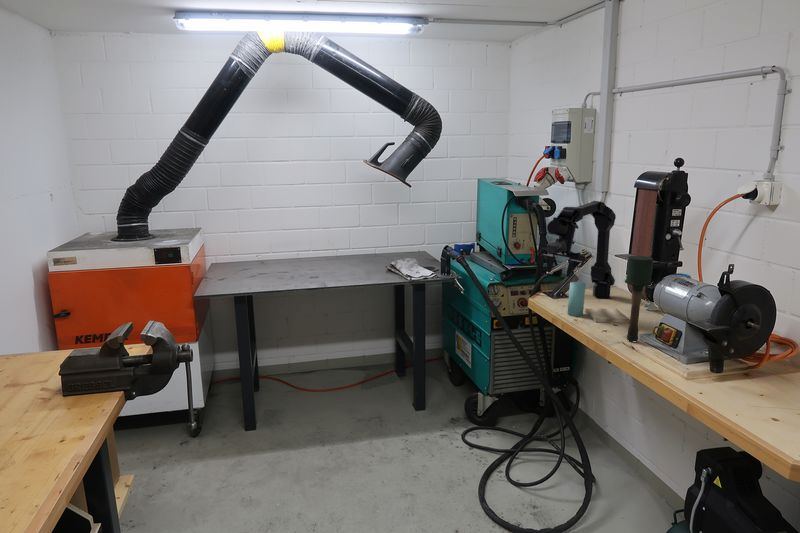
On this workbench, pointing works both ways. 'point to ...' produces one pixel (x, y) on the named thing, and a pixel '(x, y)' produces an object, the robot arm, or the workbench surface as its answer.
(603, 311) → the board
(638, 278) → the stick grenade
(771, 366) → the workbench surface
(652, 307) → the pneumatic valve
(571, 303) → the canister
